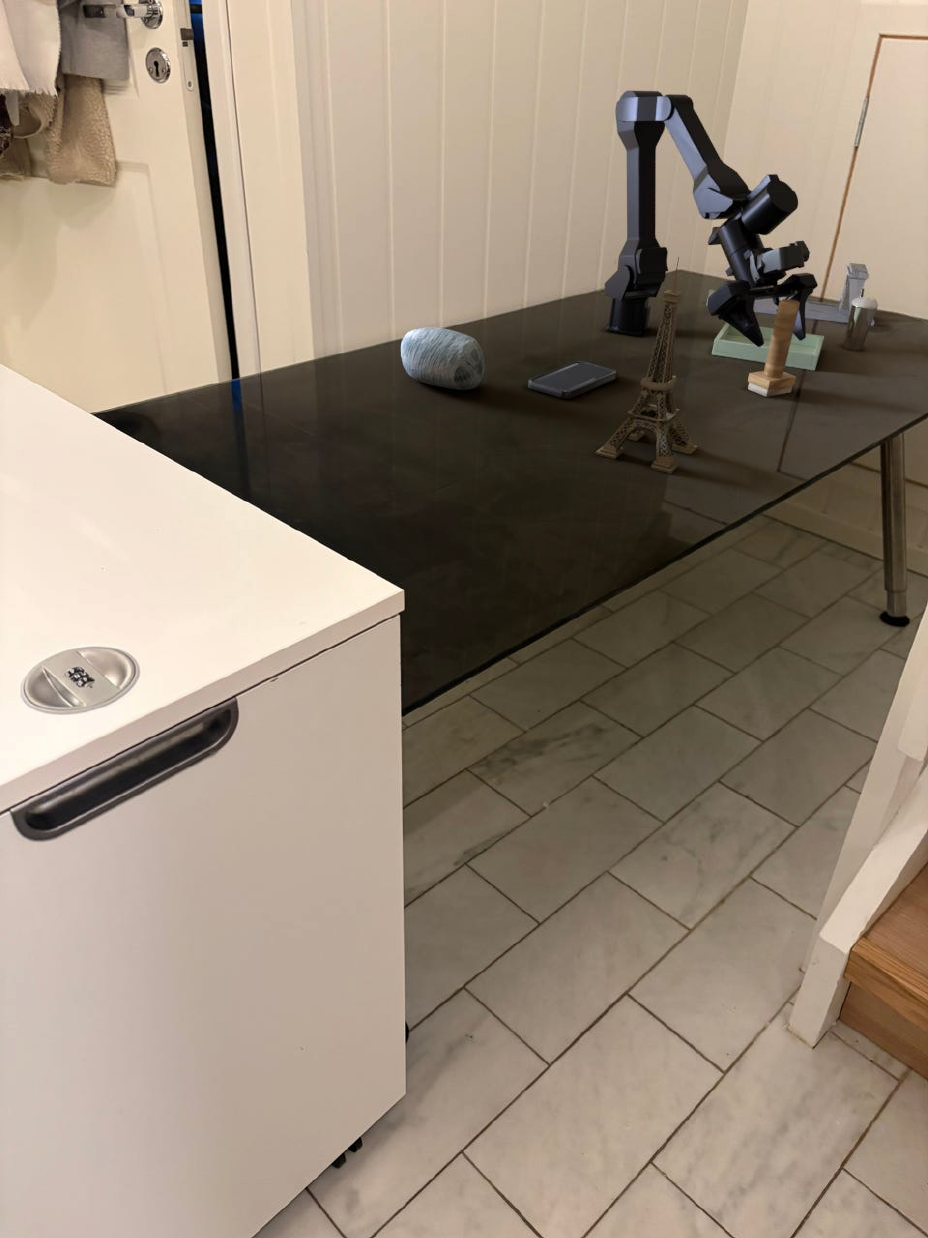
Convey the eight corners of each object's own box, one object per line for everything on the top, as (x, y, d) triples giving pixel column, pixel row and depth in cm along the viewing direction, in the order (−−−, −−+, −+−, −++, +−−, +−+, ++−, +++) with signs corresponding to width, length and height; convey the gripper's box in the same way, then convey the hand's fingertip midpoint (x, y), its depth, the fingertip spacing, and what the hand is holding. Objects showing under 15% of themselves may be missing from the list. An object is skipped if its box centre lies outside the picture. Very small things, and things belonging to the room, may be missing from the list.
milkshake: (860, 344, 178) (876, 289, 172) (868, 352, 173) (884, 296, 168) (836, 342, 178) (850, 287, 173) (843, 350, 173) (857, 294, 168)
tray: (711, 354, 167) (714, 339, 166) (723, 335, 178) (726, 321, 177) (814, 370, 162) (818, 355, 161) (820, 350, 173) (824, 335, 172)
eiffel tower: (625, 430, 134) (653, 243, 120) (697, 448, 129) (734, 256, 116) (595, 454, 126) (621, 257, 112) (670, 473, 122) (707, 271, 108)
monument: (873, 325, 189) (887, 275, 184) (705, 306, 196) (714, 257, 191) (868, 310, 200) (881, 263, 194) (709, 292, 206) (717, 246, 201)
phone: (525, 380, 146) (578, 359, 156) (525, 387, 147) (577, 366, 157) (568, 392, 142) (619, 370, 152) (567, 400, 143) (618, 377, 153)
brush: (766, 397, 149) (786, 306, 141) (745, 388, 152) (765, 299, 145) (792, 392, 152) (814, 303, 144) (772, 384, 155) (792, 296, 147)
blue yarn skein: (505, 364, 146) (479, 309, 139) (475, 406, 142) (446, 352, 135) (439, 365, 154) (411, 314, 148) (408, 404, 150) (378, 354, 144)
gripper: (735, 224, 138) (775, 320, 136) (823, 218, 147) (862, 308, 145) (689, 269, 148) (726, 359, 146) (774, 260, 156) (809, 345, 154)
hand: (782, 342), depth 147 cm, fingers open, 9 cm apart
